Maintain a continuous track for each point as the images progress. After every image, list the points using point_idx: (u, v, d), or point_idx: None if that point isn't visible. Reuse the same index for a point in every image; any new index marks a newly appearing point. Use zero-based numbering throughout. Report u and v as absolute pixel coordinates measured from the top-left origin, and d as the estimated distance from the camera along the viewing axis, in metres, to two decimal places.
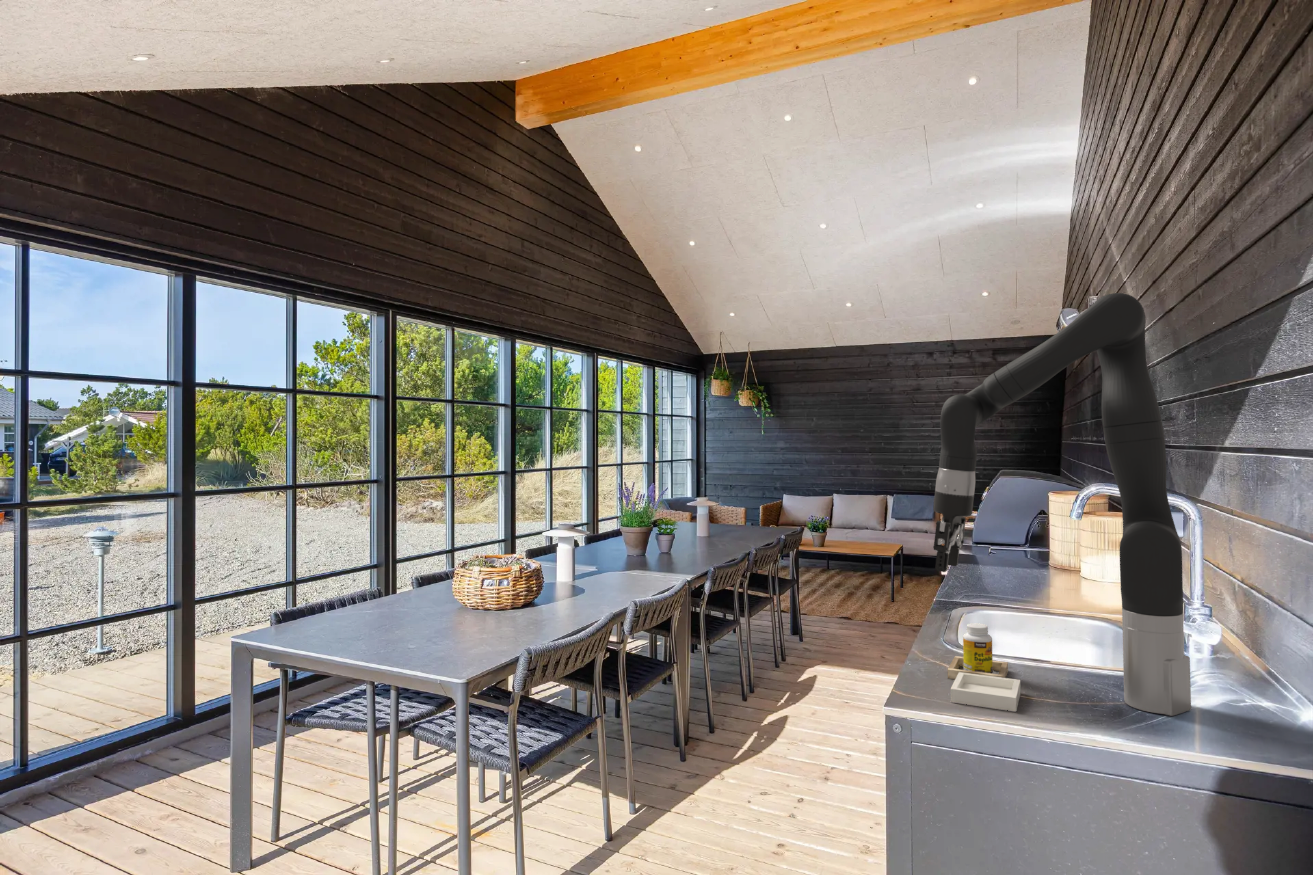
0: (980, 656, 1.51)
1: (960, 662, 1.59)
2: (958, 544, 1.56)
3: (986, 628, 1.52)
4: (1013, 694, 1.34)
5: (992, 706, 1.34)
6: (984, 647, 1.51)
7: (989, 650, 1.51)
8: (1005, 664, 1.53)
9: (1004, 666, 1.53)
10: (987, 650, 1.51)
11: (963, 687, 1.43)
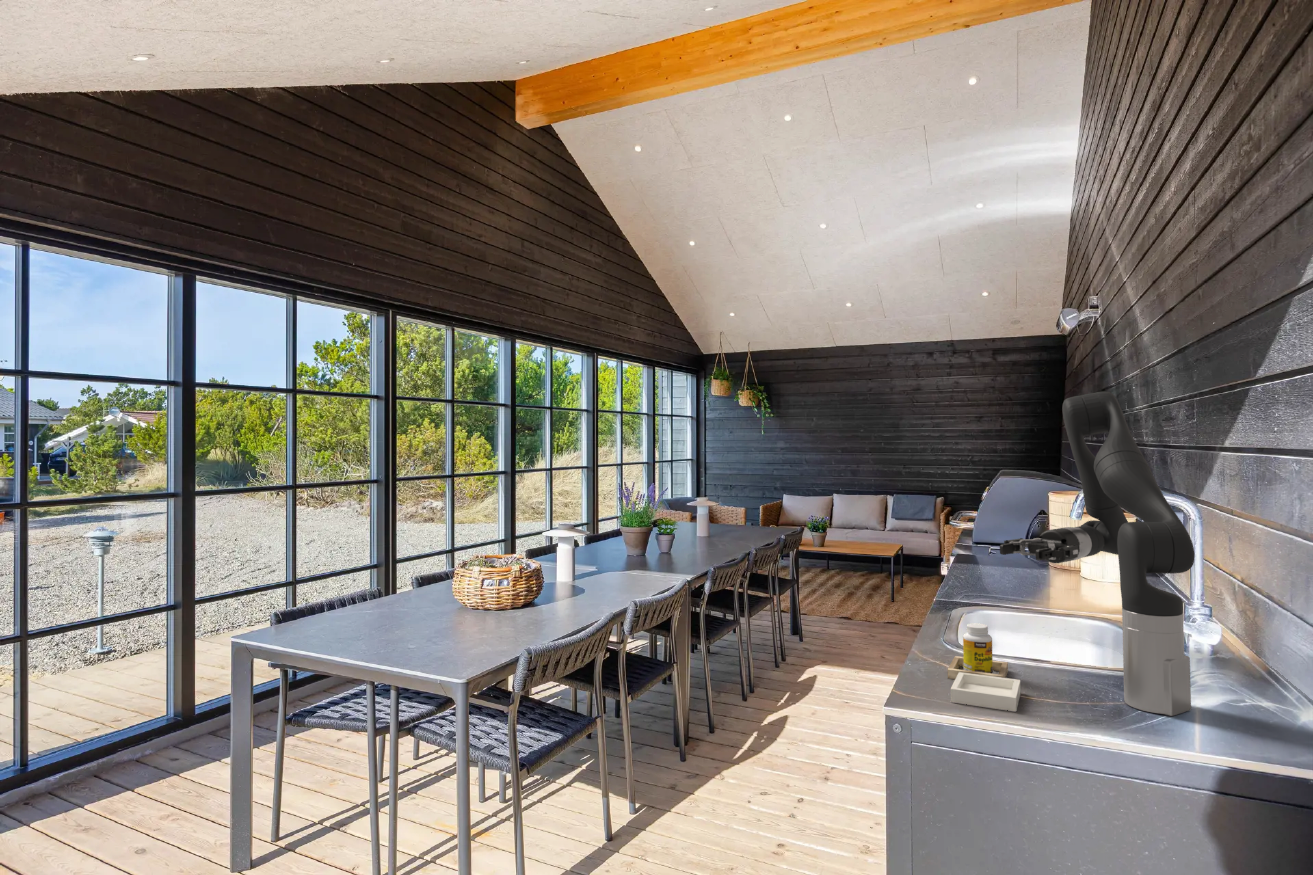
0: (980, 656, 1.51)
1: (960, 662, 1.59)
2: (1048, 547, 1.58)
3: (986, 628, 1.52)
4: (1013, 694, 1.34)
5: (992, 706, 1.34)
6: (984, 647, 1.51)
7: (989, 650, 1.51)
8: (1005, 664, 1.53)
9: (1004, 666, 1.53)
10: (987, 650, 1.51)
11: (963, 687, 1.43)
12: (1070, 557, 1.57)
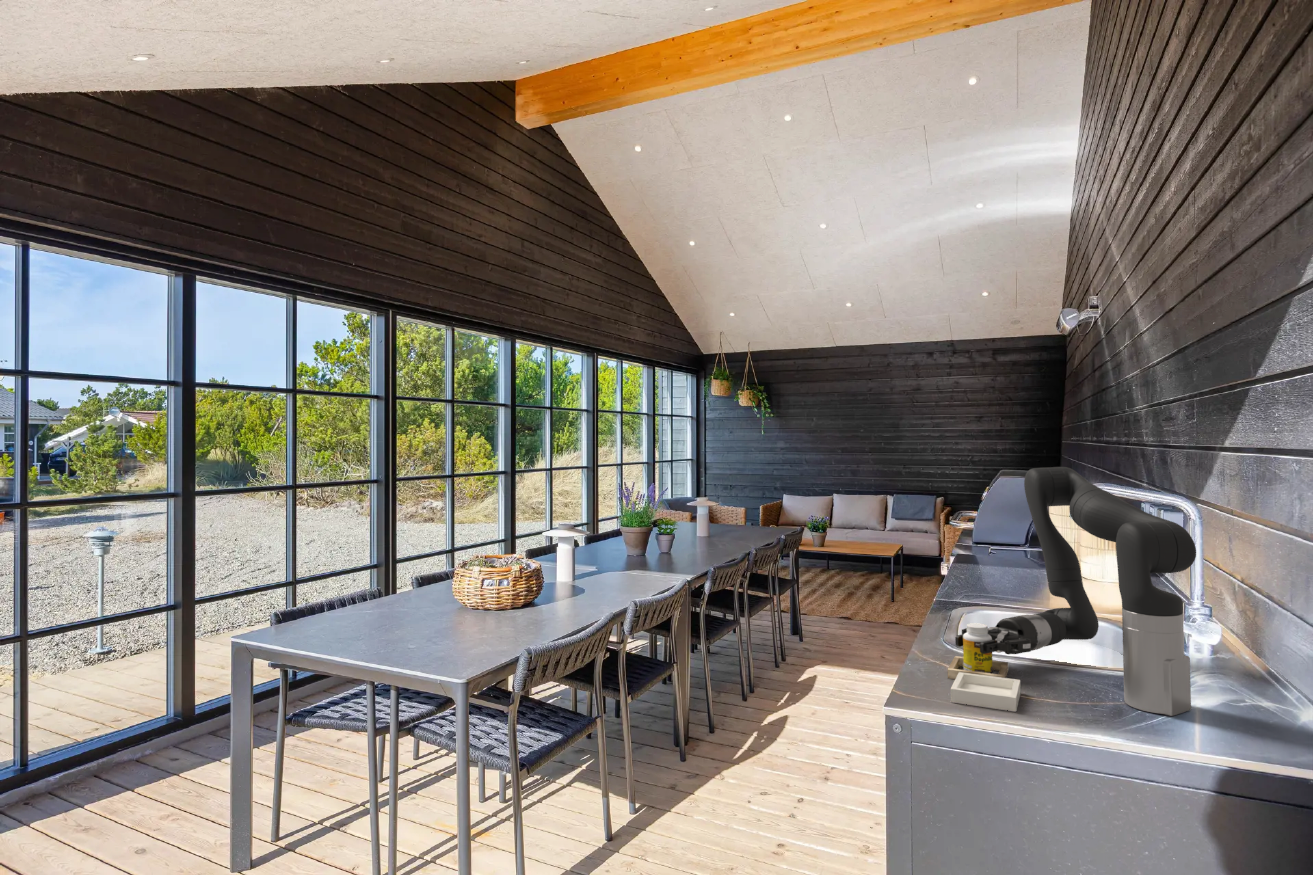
0: (980, 656, 1.51)
1: (960, 662, 1.59)
2: None
3: (985, 628, 1.52)
4: (1013, 694, 1.34)
5: (992, 706, 1.34)
6: None
7: None
8: (1005, 664, 1.53)
9: (1004, 666, 1.53)
10: None
11: (963, 687, 1.43)
12: (1018, 651, 1.50)
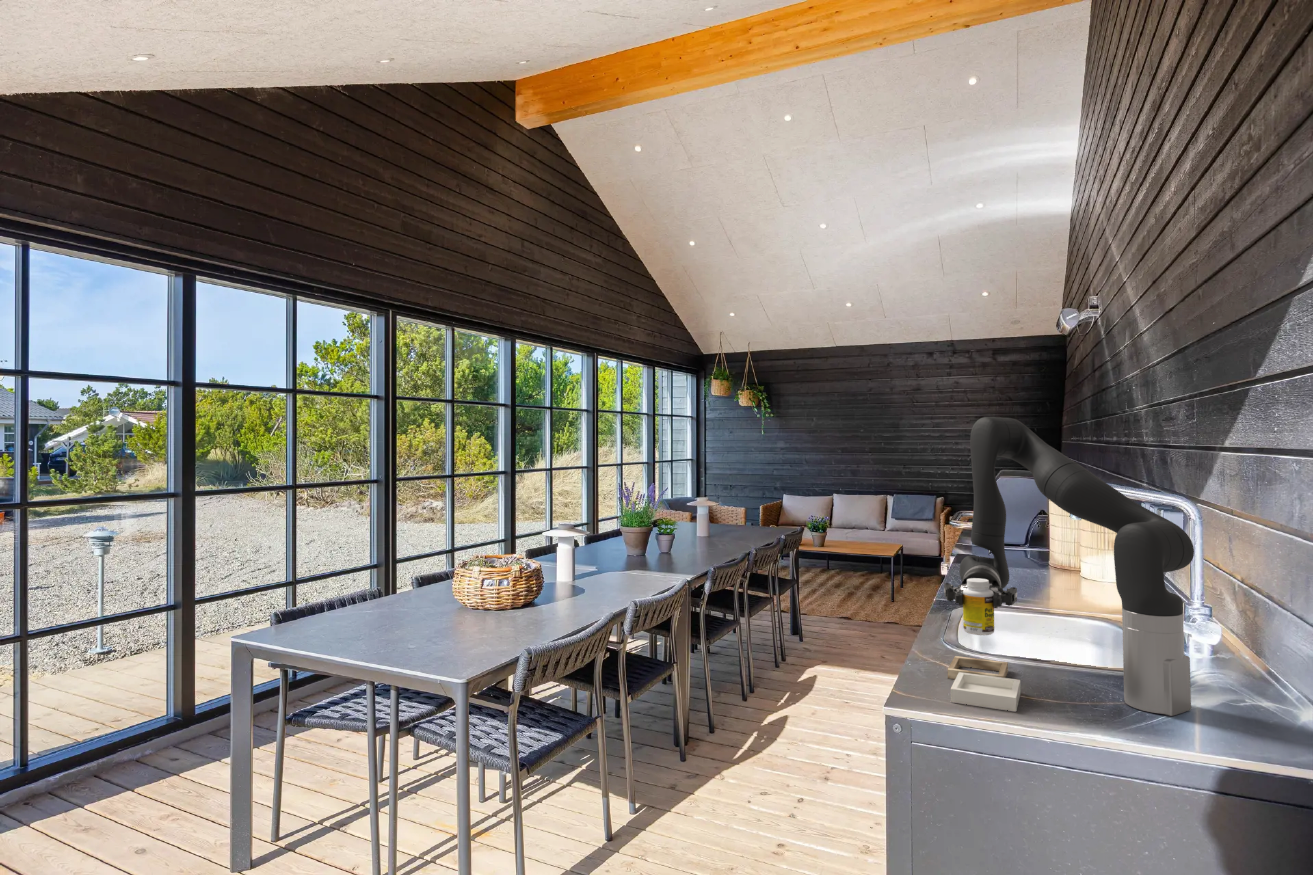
0: (989, 611, 1.41)
1: (960, 662, 1.59)
2: (993, 592, 1.45)
3: None
4: (1013, 694, 1.34)
5: (992, 706, 1.34)
6: (992, 601, 1.42)
7: None
8: (1005, 664, 1.53)
9: (1004, 666, 1.53)
10: None
11: (963, 687, 1.43)
12: (1014, 601, 1.45)
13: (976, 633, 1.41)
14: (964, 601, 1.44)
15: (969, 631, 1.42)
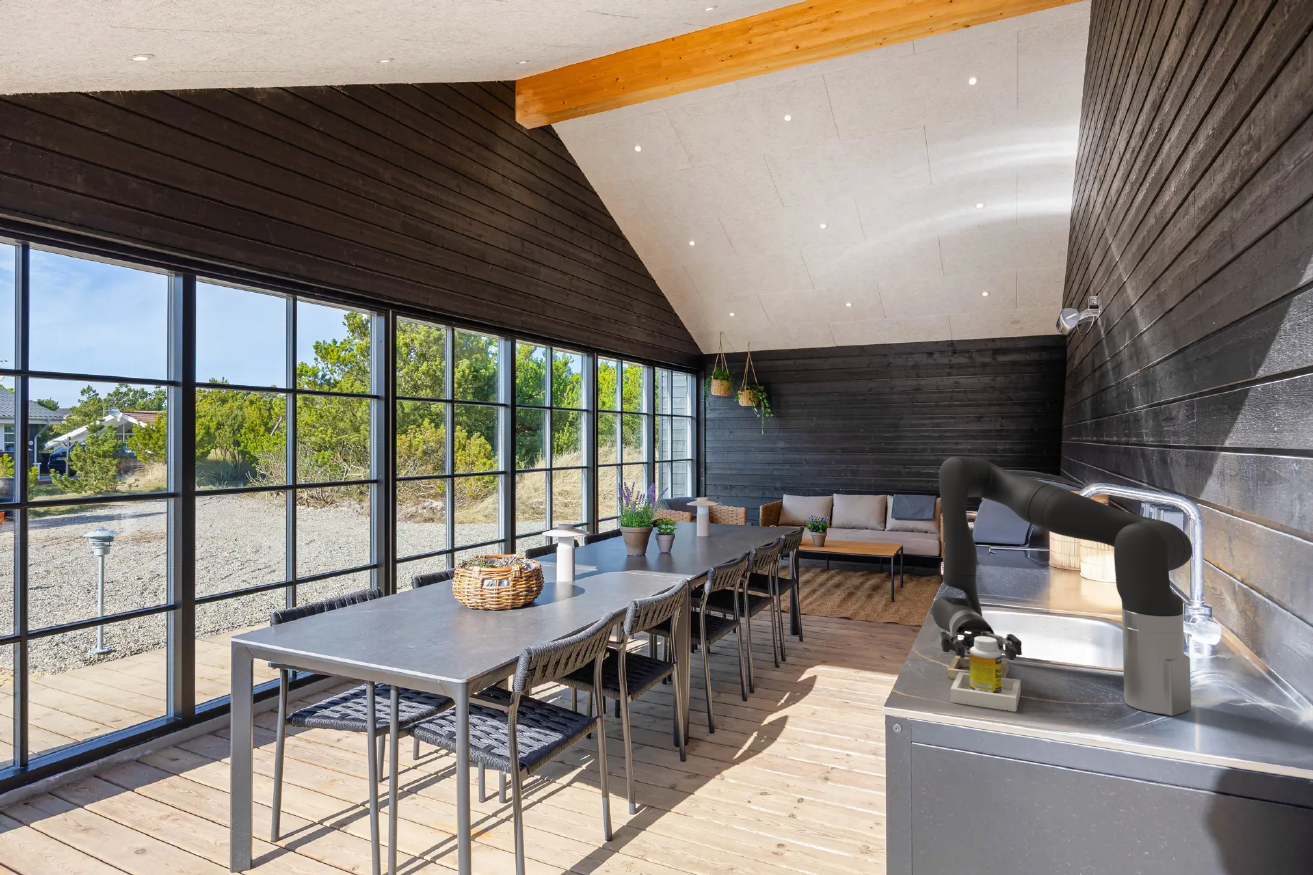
0: (999, 672, 1.38)
1: (960, 662, 1.59)
2: (1002, 642, 1.42)
3: None
4: (1013, 694, 1.34)
5: (992, 706, 1.34)
6: (1001, 661, 1.38)
7: None
8: (1005, 664, 1.53)
9: (1004, 666, 1.53)
10: (1001, 664, 1.39)
11: (963, 687, 1.43)
12: None
13: None
14: (973, 661, 1.39)
15: None
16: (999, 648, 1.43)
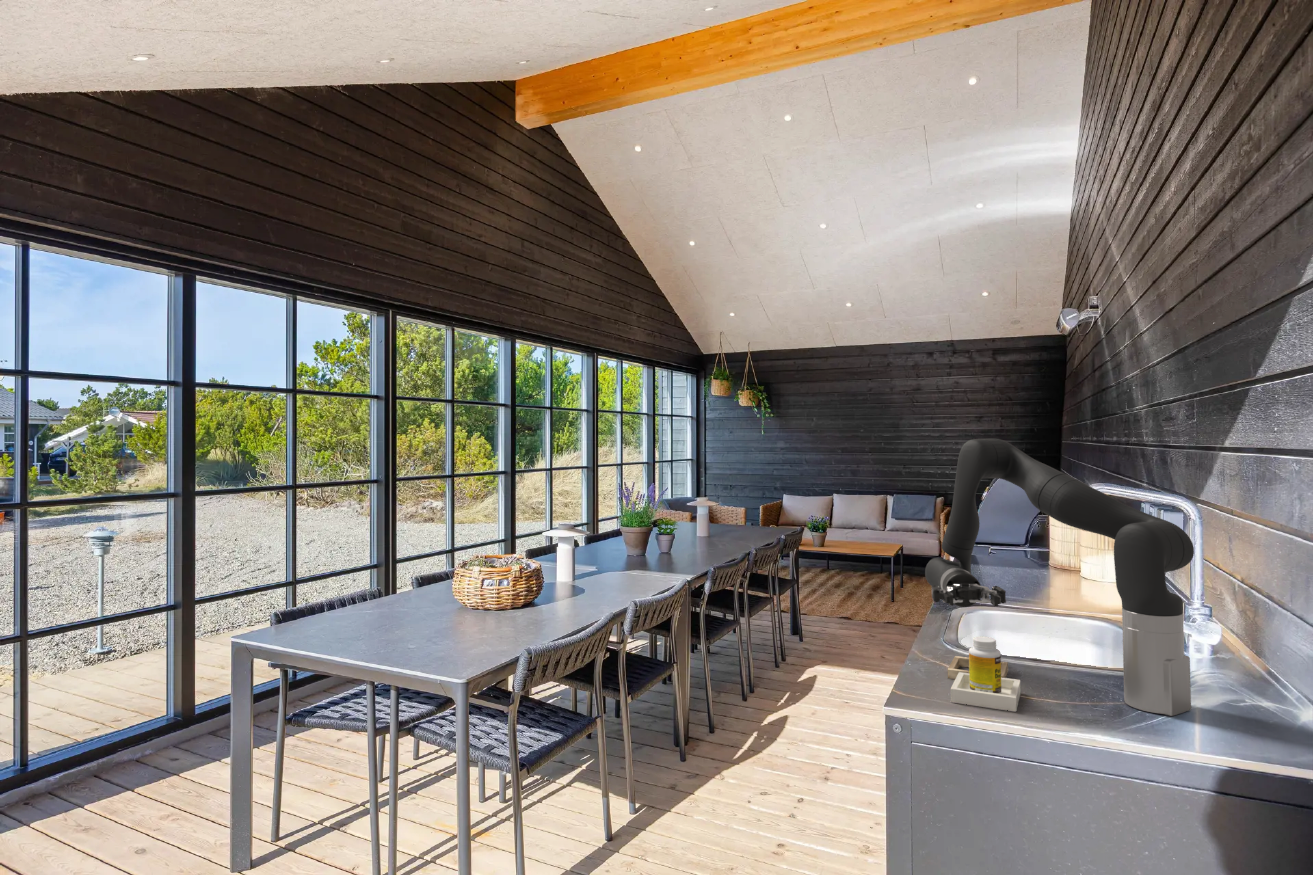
0: (999, 672, 1.38)
1: (960, 662, 1.59)
2: (988, 591, 1.54)
3: None
4: (1013, 694, 1.34)
5: (992, 706, 1.34)
6: (1000, 660, 1.38)
7: None
8: (1005, 664, 1.53)
9: (1004, 666, 1.53)
10: (1000, 664, 1.39)
11: (963, 687, 1.43)
12: None
13: None
14: (972, 662, 1.39)
15: None
16: (985, 597, 1.55)
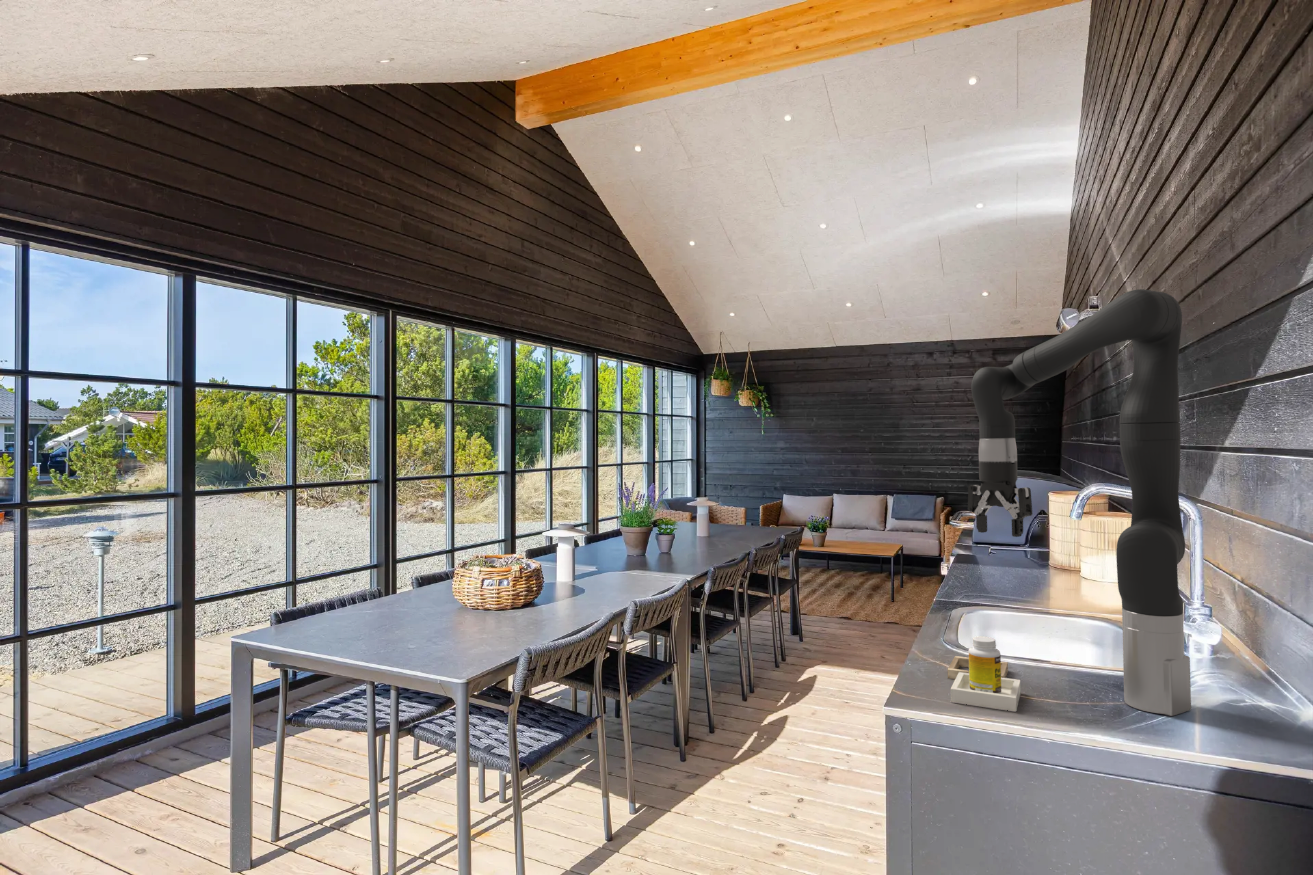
0: (999, 671, 1.38)
1: (960, 662, 1.59)
2: None
3: None
4: (1013, 694, 1.34)
5: (992, 706, 1.34)
6: (1000, 660, 1.39)
7: None
8: (1005, 664, 1.53)
9: (1004, 666, 1.53)
10: (1000, 663, 1.39)
11: (963, 687, 1.43)
12: (1030, 503, 1.54)
13: None
14: (972, 662, 1.39)
15: None
16: (1013, 509, 1.57)
